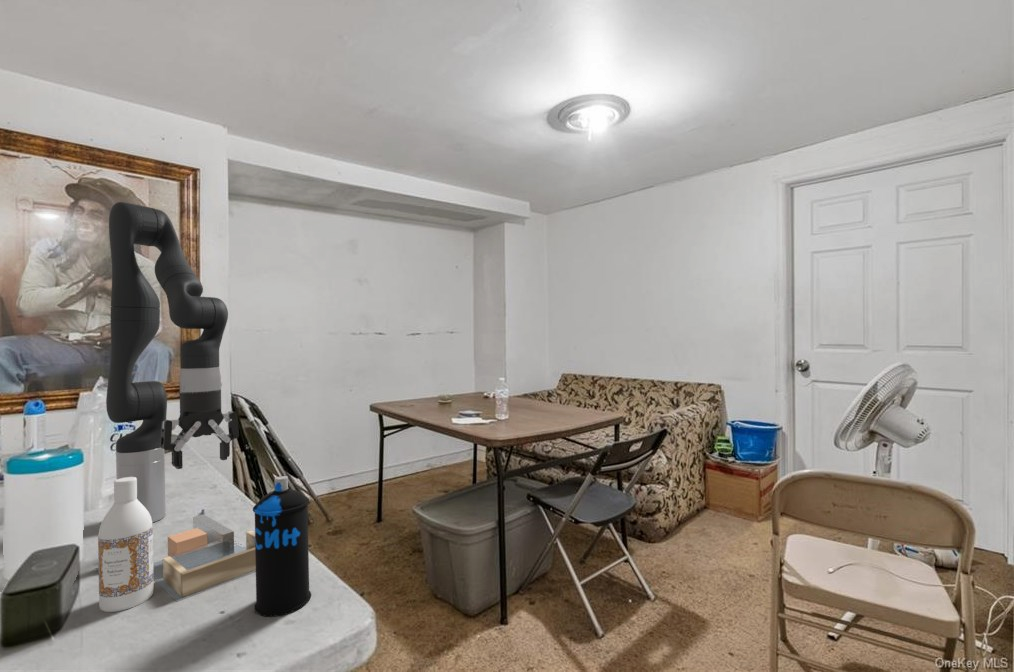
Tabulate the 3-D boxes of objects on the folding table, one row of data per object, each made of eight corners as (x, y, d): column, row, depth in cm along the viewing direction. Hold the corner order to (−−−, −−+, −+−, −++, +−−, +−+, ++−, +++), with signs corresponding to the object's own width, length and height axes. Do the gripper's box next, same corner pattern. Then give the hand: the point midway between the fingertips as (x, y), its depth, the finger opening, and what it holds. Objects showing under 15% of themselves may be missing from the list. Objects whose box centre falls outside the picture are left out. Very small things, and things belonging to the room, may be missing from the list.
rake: (148, 550, 96) (147, 529, 96) (203, 534, 103) (203, 514, 103) (175, 573, 86) (174, 549, 86) (234, 553, 93) (233, 531, 93)
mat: (140, 567, 89) (140, 566, 89) (237, 537, 102) (237, 536, 102) (177, 602, 76) (177, 601, 76) (281, 562, 90) (281, 561, 90)
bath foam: (88, 617, 73) (86, 487, 73) (115, 593, 80) (113, 475, 80) (140, 610, 74) (138, 483, 75) (161, 587, 81) (159, 471, 81)
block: (168, 562, 90) (167, 536, 90) (197, 552, 94) (197, 527, 94) (177, 569, 87) (176, 542, 87) (207, 559, 91) (207, 533, 91)
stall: (163, 580, 84) (162, 558, 84) (251, 550, 95) (251, 530, 95) (183, 599, 77) (182, 574, 77) (275, 563, 89) (274, 542, 89)
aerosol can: (271, 588, 80) (269, 470, 80) (319, 588, 80) (317, 470, 80) (243, 617, 72) (240, 486, 72) (296, 617, 71) (293, 485, 72)
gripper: (229, 385, 109) (230, 454, 109) (155, 391, 98) (156, 468, 98) (243, 386, 105) (244, 459, 105) (167, 393, 94) (168, 474, 94)
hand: (201, 463), depth 101 cm, fingers open, 8 cm apart
